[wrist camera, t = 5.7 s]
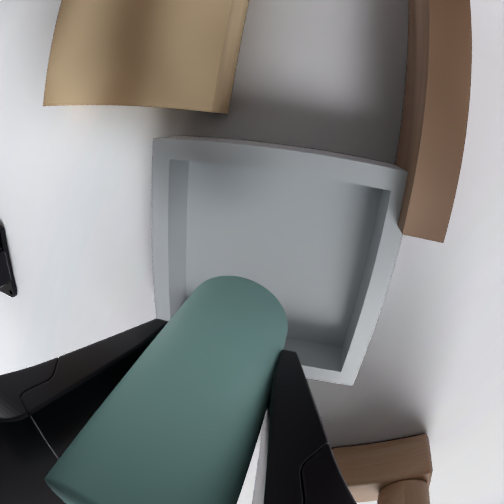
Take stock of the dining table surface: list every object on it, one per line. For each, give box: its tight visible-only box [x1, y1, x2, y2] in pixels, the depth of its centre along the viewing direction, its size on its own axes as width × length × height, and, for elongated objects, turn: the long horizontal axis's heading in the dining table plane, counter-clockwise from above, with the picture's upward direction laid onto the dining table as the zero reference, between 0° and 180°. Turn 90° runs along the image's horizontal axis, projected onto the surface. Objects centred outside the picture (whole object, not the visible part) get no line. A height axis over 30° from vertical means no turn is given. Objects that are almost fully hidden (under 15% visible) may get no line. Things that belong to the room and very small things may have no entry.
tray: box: [152, 136, 408, 386], centre depth 14 cm, size 10×10×2 cm
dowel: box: [44, 275, 288, 504], centre depth 7 cm, size 3×3×7 cm
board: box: [43, 0, 249, 114], centre depth 12 cm, size 10×7×2 cm
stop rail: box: [395, 0, 472, 243], centre depth 8 cm, size 2×12×6 cm, turn 175°
